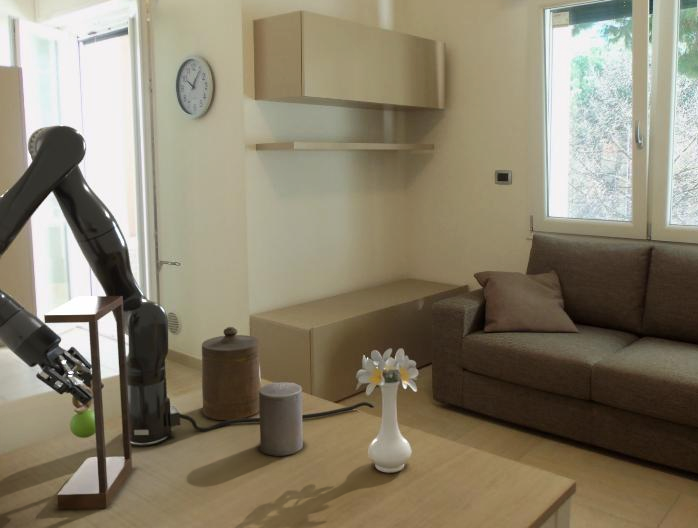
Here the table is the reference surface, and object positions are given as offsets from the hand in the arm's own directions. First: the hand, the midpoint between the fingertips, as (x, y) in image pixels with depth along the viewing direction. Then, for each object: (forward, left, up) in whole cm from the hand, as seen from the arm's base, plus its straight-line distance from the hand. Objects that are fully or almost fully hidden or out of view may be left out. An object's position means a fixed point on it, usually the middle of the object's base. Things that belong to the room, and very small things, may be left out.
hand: (94, 395), depth 135 cm
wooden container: (-37, -25, -20) cm, 49 cm away
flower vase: (-53, +24, -20) cm, 62 cm away
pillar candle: (-38, +3, -20) cm, 43 cm away
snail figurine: (+2, -1, -8) cm, 9 cm away
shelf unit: (+1, 0, -19) cm, 19 cm away
